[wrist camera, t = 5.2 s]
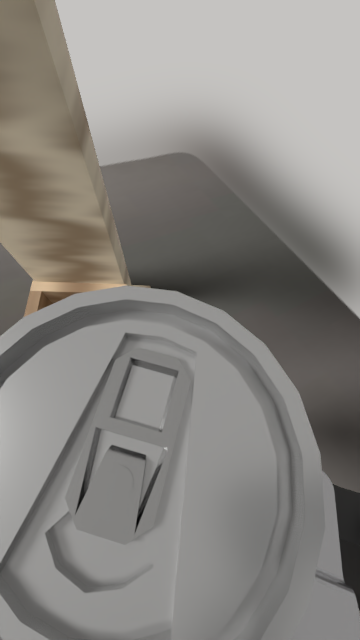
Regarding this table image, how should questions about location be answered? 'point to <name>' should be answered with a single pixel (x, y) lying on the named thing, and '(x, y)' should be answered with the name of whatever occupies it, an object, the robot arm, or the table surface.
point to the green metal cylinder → (152, 475)
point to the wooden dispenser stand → (50, 164)
